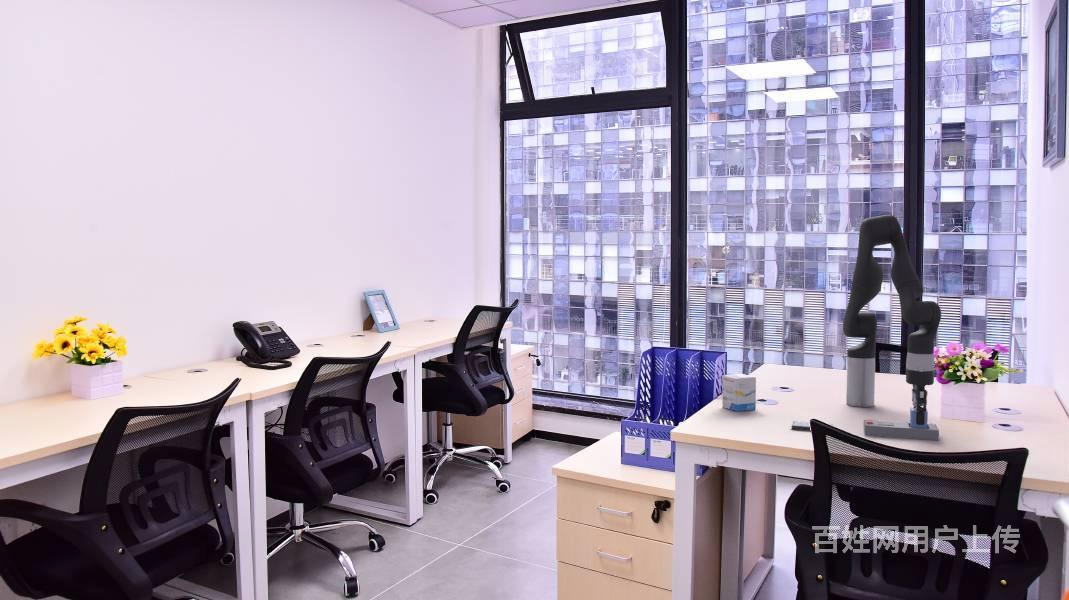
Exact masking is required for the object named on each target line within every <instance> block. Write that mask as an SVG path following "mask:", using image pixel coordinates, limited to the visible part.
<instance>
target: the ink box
mask: <svg viewBox="0 0 1069 600" xmlns="http://www.w3.org/2000/svg"><path fill="white" fill-rule="evenodd" d="M721 379H722V382H721V383H722V387H721V388H722V391H721V393H722V396H721V397H722V399H721V400H722V401H721V402H722V403H721V404H722V408H723V407H724V409H727V408H728V410H730V409H731V410H730V411H733V410H735V412H737V411H738V412H745V411H744V410H746V411H754V409H755V410H757V409H756V408H757V406H756V404H757V403H756V401H757V399H756V398H757V394H756V393H757V391H756V390H757V389H756V388H757V377H755V376H753V375H752V376H751V375H748V374H744V373H733V374H732V373H730V374H723V375H722V378H721Z"/></svg>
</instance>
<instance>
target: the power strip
mask: <svg viewBox="0 0 1069 600" xmlns="http://www.w3.org/2000/svg"><path fill="white" fill-rule="evenodd" d="M863 434H864V436H870V437H872V436H873V437H886V438H887V437H888V438H900V439H914V440H926V441H927V440H928V441H929V440H930V441H939V440H940V438H939V437H940V430H939V428H938V426H937V424H935V423H934V424H933V423H927V429H926V428H911V427H910V421H909V422H907V421H905V422H904V421H893V420H892V421H890V420H876V419H874V420H873V419H863Z"/></svg>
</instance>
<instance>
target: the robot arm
mask: <svg viewBox="0 0 1069 600" xmlns="http://www.w3.org/2000/svg"><path fill="white" fill-rule="evenodd" d="M904 236H905V235H904V233H903V230H902V226H901V225H900V222H899V221H898V219H897V218H896V216H894V215H893V214H885V215H878V216H871V217H867V218H864V219H863V220H862V221H861V223H860V226H859V234H858V244H857V245H858V246H857V256H856V262H855V267H854V271H853V275H852V279H851V280H852V281H851V286H850V287H851V288H850V294H849V298H848V304H847V307H846V309H845V314H844V316H843V321H842V322H843V323H842V331H843V334H844V336H845V337H847V338H851V339H853V338H854V339H857V338H858V339H864V340H863V341H862V342H861V343H859V344H857V345H853V346H851V347H849V348H847V350H846V352H847V353H846V355H847V356H846V392H845V393H846V399H845V401H846V402H845V403H846V405H848V406H851V407H856V408H857V407H859V408H860V407H861V408H870V407H871V408H872V407H874V406H875V394H876V393H875V388H876V387H875V385H876V384H875V383H876V382H875V381H876V348H877V347H876V346H877V334H878V333H877V332H878V318H877V315H876V313H875V312H873V311H861V310H862V309H863V308H864V307H866V305H868V304H869V303H870V302H871V301H873V300H874V299H875V297H877V296H878V294H879V293H880V292H881V289H882V285H883V282H884V281H883V280H884V271H883V268H882V267H881V265H880V264H879V262H878V261H877V260H876V258H875V256H874V255H873V253H874V251H873V250H874V248H875V247H878V246H884V245H889V244H890V245H891V247H892V248H893V251H894V252H893V254H894V255H893V258H892V260H893V261H892V264H891V268H890V278H891V282H892V283H893V286H894V288H895V290H896V292H897V294H898V299H899V305H900V313H901V314H900V315H901V317H902V319H903V320H904V321H905V323H907V324H908V325H911V326H919V329H918V330H917V331H915V332H912V333H910V334H909V335H907V336H908V337H907V351H906V352H907V355H906V359H905V365H906V366H905V382H906V383H907V384H908V385H912V388H911V402H912V406H913V408H916V424H917V425H924V423H925V412H926V411H928V409H927V405H928V391H927V390H928V389H926V386H931V385H933V384H934V383H935V355H934V353H935V338H936V334H937V332H938V328H939V326H940V323H941V319H942V309H941V307H940V305H939V304H938V303H937V302H936V301H933V300H921V301H919V300H917V299H918V298H919V297H921V296H922V295H923V294H924V287H923V285H922V282H921V280H920V278H919V276H918V274H917V272H916V270H915V268H914V266H913V263H912V260H911V256H910V254H909V249H908V246H907V243H906V239H905V237H904Z"/></svg>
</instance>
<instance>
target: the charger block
mask: <svg viewBox="0 0 1069 600" xmlns="http://www.w3.org/2000/svg"><path fill="white" fill-rule="evenodd" d="M909 408H910V409H909V423H910V427H911V428H926V429H927V424H928V416H929V413H928V412H929V411H928V410H927V411H926V412H925V423H924V425H917V424H916V408H914V407H909Z"/></svg>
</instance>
